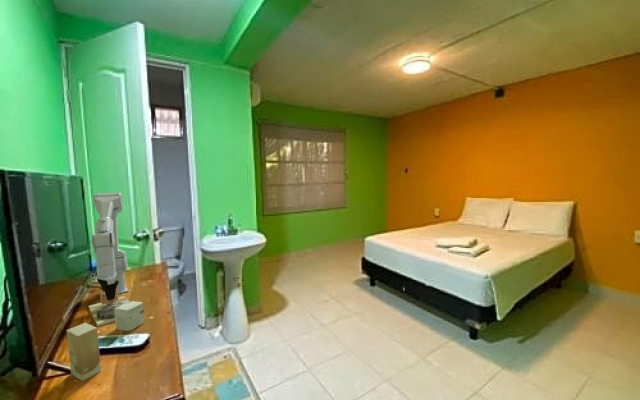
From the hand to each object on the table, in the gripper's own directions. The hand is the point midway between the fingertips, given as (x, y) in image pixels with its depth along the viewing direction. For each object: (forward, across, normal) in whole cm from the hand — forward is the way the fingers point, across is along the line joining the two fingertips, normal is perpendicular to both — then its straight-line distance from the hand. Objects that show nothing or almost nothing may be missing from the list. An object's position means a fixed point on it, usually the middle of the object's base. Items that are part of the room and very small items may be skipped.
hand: (109, 297), depth 112 cm
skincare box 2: (+4, +22, +2) cm, 23 cm away
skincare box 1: (+4, +41, -12) cm, 43 cm away
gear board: (+4, +4, 0) cm, 6 cm away
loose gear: (+2, 0, 0) cm, 2 cm away
